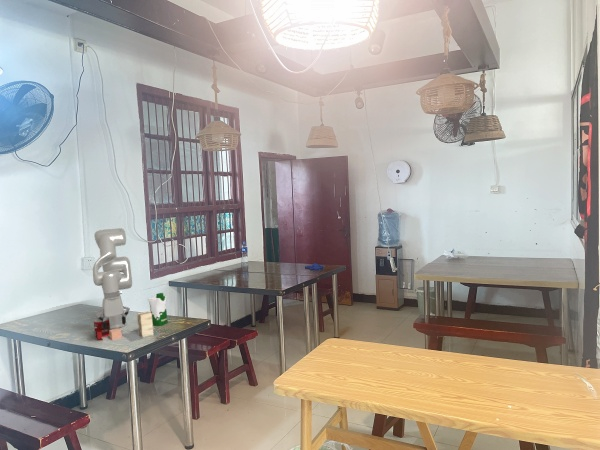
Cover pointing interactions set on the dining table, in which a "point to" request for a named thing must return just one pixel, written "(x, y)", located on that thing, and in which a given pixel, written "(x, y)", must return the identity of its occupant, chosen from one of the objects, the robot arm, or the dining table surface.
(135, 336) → the slate board
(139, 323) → the beech block mid
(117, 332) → the terracotta block
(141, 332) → the beech block base
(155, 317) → the milk carton
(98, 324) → the canned food
